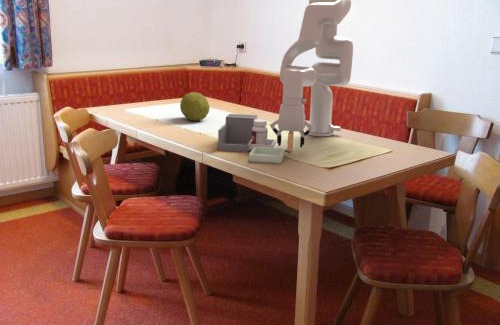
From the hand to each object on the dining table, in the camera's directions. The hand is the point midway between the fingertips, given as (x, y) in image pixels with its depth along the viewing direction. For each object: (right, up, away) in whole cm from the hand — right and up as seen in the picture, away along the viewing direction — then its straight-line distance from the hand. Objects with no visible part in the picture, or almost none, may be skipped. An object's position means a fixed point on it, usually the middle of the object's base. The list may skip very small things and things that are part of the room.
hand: (290, 145), depth 189 cm
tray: (-10, -5, -10) cm, 15 cm away
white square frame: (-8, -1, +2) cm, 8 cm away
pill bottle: (-12, -1, +3) cm, 13 cm away
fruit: (-44, +15, +52) cm, 69 cm away
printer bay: (-21, +1, +8) cm, 22 cm away
